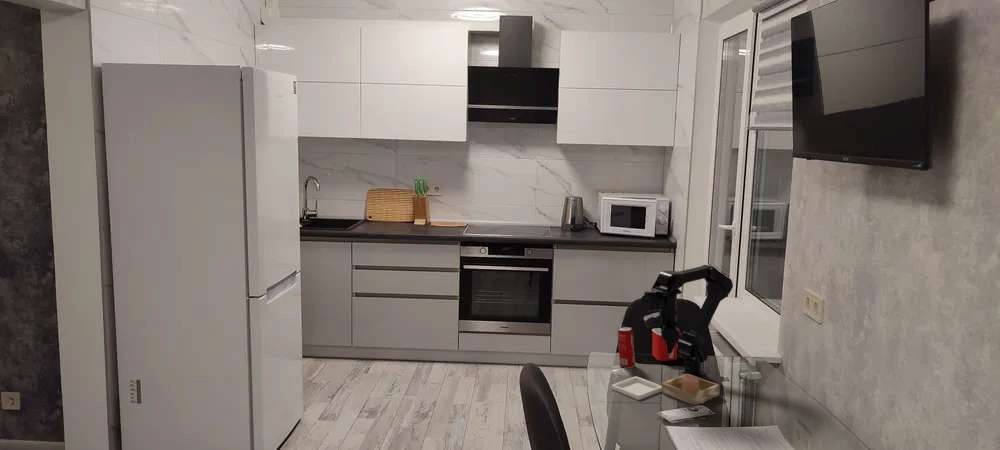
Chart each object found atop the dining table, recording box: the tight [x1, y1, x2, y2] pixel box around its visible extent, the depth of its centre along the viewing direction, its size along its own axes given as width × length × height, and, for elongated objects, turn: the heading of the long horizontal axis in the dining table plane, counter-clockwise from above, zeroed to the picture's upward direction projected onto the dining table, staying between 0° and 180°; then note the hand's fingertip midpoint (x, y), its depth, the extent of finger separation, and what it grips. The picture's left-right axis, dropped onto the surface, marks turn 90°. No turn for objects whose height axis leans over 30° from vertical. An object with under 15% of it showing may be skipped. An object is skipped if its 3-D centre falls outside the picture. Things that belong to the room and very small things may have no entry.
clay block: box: [681, 375, 699, 394], centre depth 234 cm, size 5×5×5 cm
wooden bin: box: [660, 374, 721, 406], centre depth 234 cm, size 14×14×4 cm
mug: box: [651, 327, 683, 362], centre depth 271 cm, size 12×8×11 cm
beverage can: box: [617, 326, 636, 369], centre depth 262 cm, size 6×6×15 cm
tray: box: [610, 375, 661, 401], centre depth 239 cm, size 13×13×2 cm
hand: (668, 349), depth 245 cm, fingers open, 9 cm apart
